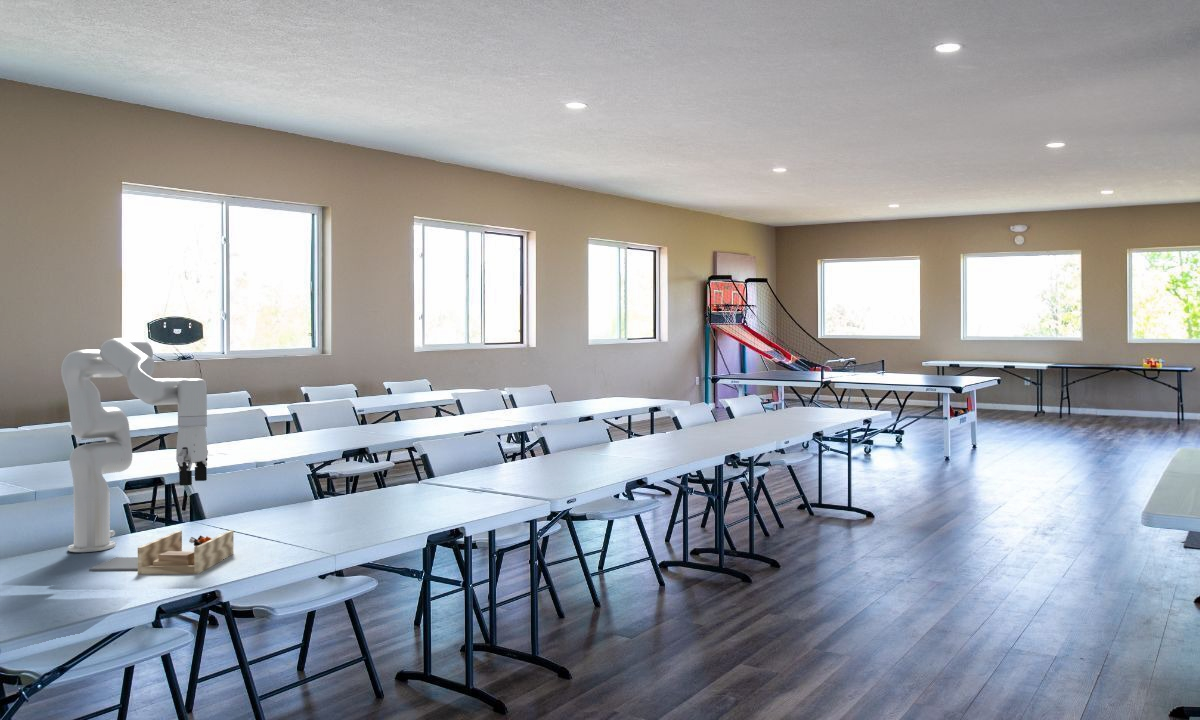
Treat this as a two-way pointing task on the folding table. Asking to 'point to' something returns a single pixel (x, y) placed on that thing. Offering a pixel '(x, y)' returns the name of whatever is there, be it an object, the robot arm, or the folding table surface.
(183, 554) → the offcuts
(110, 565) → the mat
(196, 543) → the toy
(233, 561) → the folding table surface
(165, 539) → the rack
